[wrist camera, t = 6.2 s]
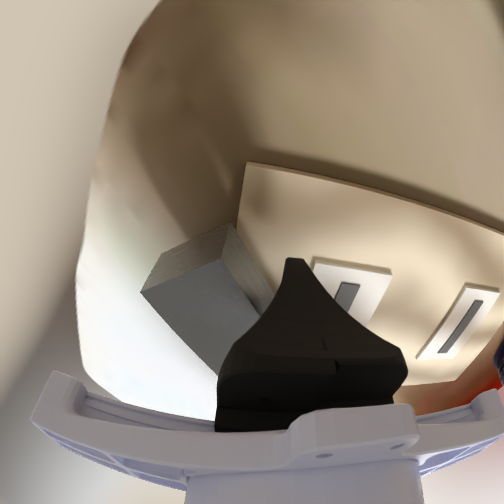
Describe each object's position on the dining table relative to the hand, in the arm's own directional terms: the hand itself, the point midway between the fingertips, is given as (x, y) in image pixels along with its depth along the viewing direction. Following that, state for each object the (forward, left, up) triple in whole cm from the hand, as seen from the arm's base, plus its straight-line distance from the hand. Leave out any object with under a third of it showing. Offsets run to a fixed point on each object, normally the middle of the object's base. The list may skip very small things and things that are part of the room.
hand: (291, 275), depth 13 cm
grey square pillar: (-6, 0, -2) cm, 7 cm away
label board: (-5, -10, -3) cm, 12 cm away
